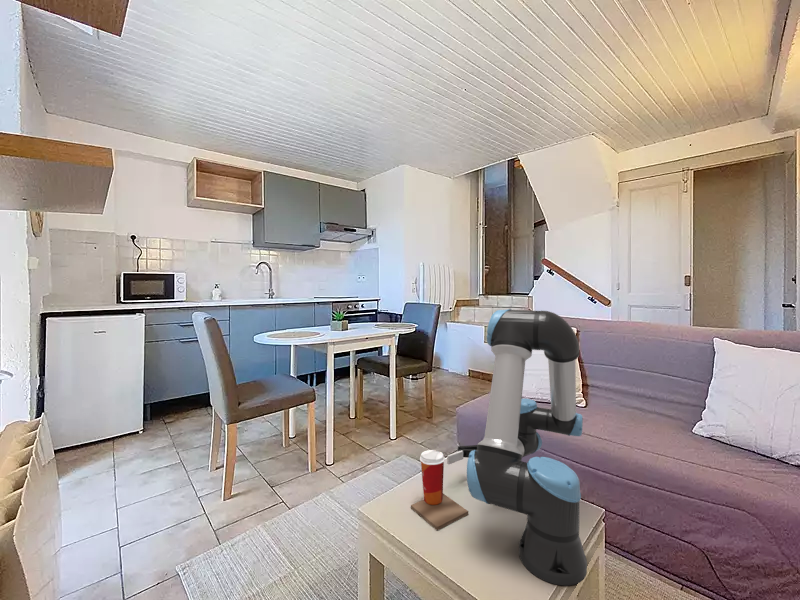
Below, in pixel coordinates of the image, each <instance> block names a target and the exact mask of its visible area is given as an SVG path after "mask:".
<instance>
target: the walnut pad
mask: <svg viewBox="0 0 800 600" xmlns="http://www.w3.org/2000/svg"><path fill="white" fill-rule="evenodd" d="M410 509H411V510H412V511H413V512H414V513H416V514H417V515H418V516H419V517H421V519H423V521H425V522H427V524H429V525H430V526H431V527H432V528H433V529H434V530H436V531H439V530H441V529H443V528H445V527H447V526H448V525H449V526H450V525H451V524H453V523H455V522H458V521H460V519H463V518H465V517H467V516H469V510H467V509H466V508H465V507H464V506H462V505H460V504H459V503H457V502H456V501H454V500H453V499H452V498H450V497H449V496H448V495H446V494H445V493H443V498H442V502H441V503H440V504H438V505H430V504H427V503H426V502H425V501H424V499H420V500H419V501H417V502H414V503H413V504H410Z"/></svg>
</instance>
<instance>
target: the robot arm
mask: <svg viewBox="0 0 800 600" xmlns="http://www.w3.org/2000/svg"><path fill="white" fill-rule="evenodd" d="M486 342H487V345H488V346H490V350H491V352H492V354H493V355H494V356H495V357H494V365H493V372H492V378H491V379H492V380H491V387H490V394H489V403H488V407H487V408H488V409H487V417H486V423H485V424H486V425H485V430H484V437H483V439H482V440H481V441H479V442H478V443H477V444H473V445H459V446H457V451H455V452H453V453H450V454H448V455H447V457H446V458H447V459H446V460H447V463H446V464H448V465H452V464H454V463H457V462H459V461H461V460H463V459H464V458H467V460H466V461H467V463H466V484H467V486H468V487H467V488H468V492H469V493H470V495H471V497H472V498H473V499H475V500H478V501H481V502H484V503H485V504H486V505H493V506H496V507H500V508H503V509H506V510H510V511H514V512H517V513H520V514H523V515H526V516H527V518H526V525H525V527H524V529H523V532H522V534H521V536H520V537H521V538H520V539H519V543H518V544H519V546H518V553H519V557H520V562H521V563H522V564H523V566H524V567H525V568H526V569H527V570H528V571H529V572H530V573H531V574H533V576H535V577H537V578H538V579H541V580H542V581H544V582H547V583H550V584H553V585H559V586H574V585H577V584H579V583H581V582H582V581H584V579H585V578H586V576H587V573H588V572H587V570H588V568H587V567H588V561H587V560H588V559H587V557H586V554H585V550H584V547H583V543H582V541H581V537H580V502H581V498H582V493H581V487H580V478H579V477H578V475H577V473H576V472H575V471H574V470H573V469H572V468H570V466H568V465H567V464H565V463H564V462H562V461H559V460H556V459H555V458H551V457H548V456H540V457H539V456H533V457H531V458H529V460H528V461H527V462H526V461H522V459H523V458H525V457H527V456H529V455H532V454H534V453H536V452H538V451H539V450H540V449H541V448H542V446H543V440H542V438H541V435H540V433H538V432H537V430H539V431H544V432H549V433H555V434H560V435H564V436H569V437H570V436H573V437H581V436H582V435H583V422H584V421H583V420H584V416H583V414H581V413H578V412H577V391H576V390H577V389H576V388H577V383H576V382H577V381H576V378H577V377H576V375H577V373H576V360H577V359H578V358H579V357H580V343H579V340H578V337H577V335H576V333H575V331H574V330H573V328H572V326H571V325H570V324H569V323H568V322H567V320H565V319H564V318H563V317H561V316H560V315H558V314H557V313H555V312H552V311H548V310H522V309H511V308H508V309H497V310H495V311H494V312H493V313H492V314H491V316H490V319H489V321H488V325H487V329H486ZM533 350H534V351H543V353H544V356H545V358H546V359H547V360H548V362H547V363H548V376H549V377H548V379H549V392H550V393H549V394H550V408H544V407H538V404H537V402H536V401H535V400H534V399H530V398H522V397H523V387H524V377H525V369H526V362H527V360H529V359H530V358H531V357H532V355H533Z"/></svg>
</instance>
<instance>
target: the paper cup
mask: <svg viewBox="0 0 800 600" xmlns="http://www.w3.org/2000/svg"><path fill="white" fill-rule="evenodd" d="M419 461H420V464H421V465H420V467H421V479H422V490H423V500H424V501H425V502H426V503H427V504H430V505H438V504H440V503H441V502H442V498H443V494H444V467H445V466H444V465H445V461H446V458H445V456H444V453H443V452H441V451H439V450H435V449H428V450H424V451H422V452H421V454H420V457H419Z"/></svg>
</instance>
